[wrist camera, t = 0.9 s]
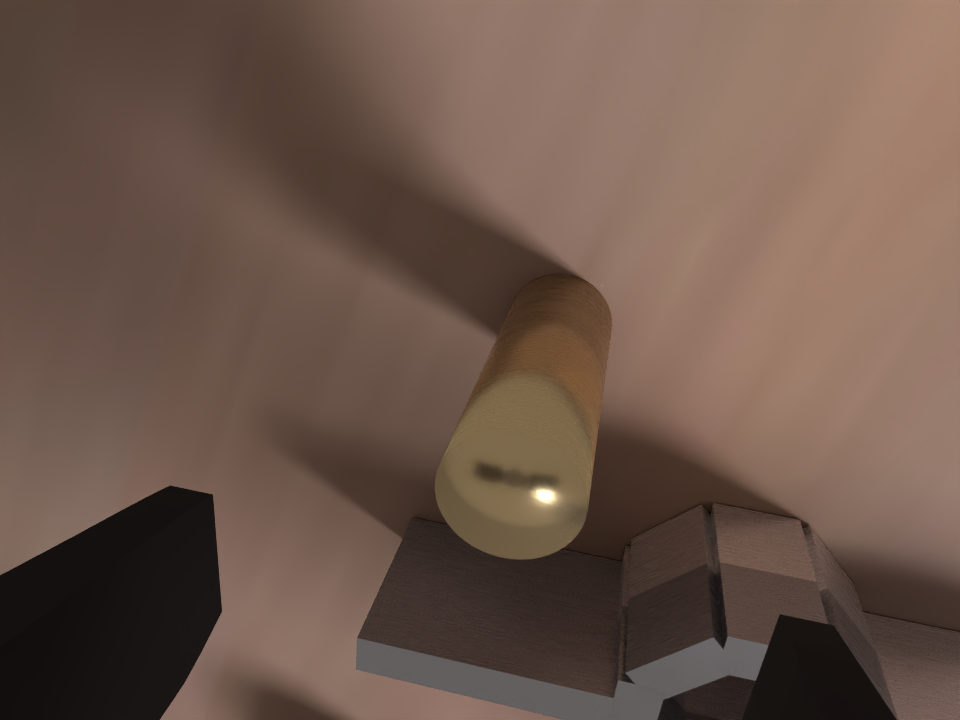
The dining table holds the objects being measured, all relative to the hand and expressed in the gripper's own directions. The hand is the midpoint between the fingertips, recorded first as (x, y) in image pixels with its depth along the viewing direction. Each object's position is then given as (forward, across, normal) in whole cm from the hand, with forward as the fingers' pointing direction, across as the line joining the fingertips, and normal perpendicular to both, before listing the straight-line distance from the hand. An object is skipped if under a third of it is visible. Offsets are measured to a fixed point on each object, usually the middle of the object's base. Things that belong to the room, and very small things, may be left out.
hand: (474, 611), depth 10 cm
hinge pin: (+9, 0, 0) cm, 9 cm away
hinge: (+9, -6, +7) cm, 13 cm away
